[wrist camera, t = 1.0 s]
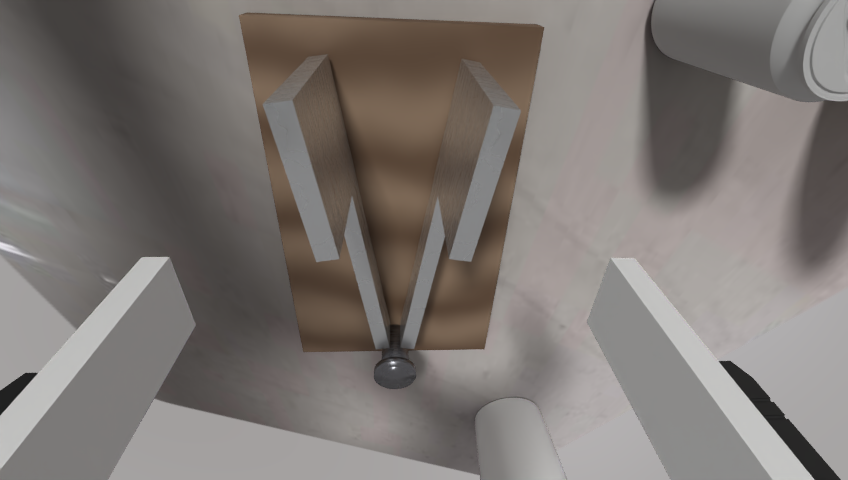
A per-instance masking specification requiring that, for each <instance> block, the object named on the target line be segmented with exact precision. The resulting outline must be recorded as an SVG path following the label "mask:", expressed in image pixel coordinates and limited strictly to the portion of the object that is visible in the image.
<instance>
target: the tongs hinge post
mask: <svg viewBox="0 0 848 480" xmlns="http://www.w3.org/2000/svg"><path fill="white" fill-rule="evenodd" d="M415 378H416V368H415V365H414V364H413V363H412V362H411V361H410V360H408V349H407V348H400V325H398V324H393V325H390V348H386V349H382V360H381V361H379V362H378V363H377V364H376V366H375V369H374V379H375V381H376V382H377V383H378V384H379V385H380V386H382V387H385V388H389V389H399V388H404V387H406V386H408V385H410V384H411V383H412V382H413V381H414V380H415Z"/></svg>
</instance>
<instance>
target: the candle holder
mask: <svg viewBox="0 0 848 480" xmlns="http://www.w3.org/2000/svg"><path fill="white" fill-rule="evenodd" d="M475 434H476V444H477V453H478V463H479V472H480V480H567V477H566V475H565V472H564V470H563V467H562V465H561V462H560V460H559V457H558V454H557V452H556V449H555V447H554V444H553V441H552V439H551V436H550V434H549V431H548V429H547V426H546V424H545V421H544V419H543V416H542V414H541V411H540V409H539V408H538V406H537V405H536V404H535V403H533V402H532V401H530V400H527V399H524V398H516V397H512V398H503V399H499V400H495V401H493V402H490V403H488V404H487V405H485V406H484V407H482V408H481V409H480V410H479V411H478V413H477V414H476V417H475Z"/></svg>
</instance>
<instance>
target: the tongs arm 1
mask: <svg viewBox="0 0 848 480" xmlns="http://www.w3.org/2000/svg"><path fill="white" fill-rule="evenodd" d="M263 107H264V110H265V113H266V116H267V119H268V122H269V125H270V128H271V131H272V133H273V136H274V139H275V142H276V145H277V148H278V151H279V154H280V157H281V160H282V163H283V166H284V169H285V172H286V175H287V178H288V180H289V183H290V186H291V189H292V192H293V195H294V198H295V201H296V204H297V207H298V210H299V213H300V216H301V219H302V222H303V225H304V227H305V230H306V233H307V236H308V239H309V242H310V245H311V248H312V251H313V254H314V257H315V260H316V262H321V261H328V260H336V259H340V254H341V249H342V244H343V239H344V236H345V240H346V243H347V247H348V251H349V254H350V258H351V261H352V265H353V269H354V272H355V276H356V279H357V283H358V287H359V290H360V294H361V298H362V301H363V305H364V308H365V312H366V316H367V319H368V323H369V326H370V330H371V334H372V337H373V341H374V344H375V348H376V350H378V349H386V348H390V319H389V315H388V311H387V307H386V302H385V298H384V294H383V289H382V285H381V281H380V277H379V272H378V268H377V264H376V259H375V255H374V251H373V247H372V242H371V238H370V234H369V229H368V225H367V221H366V217H365V212H364V208H363V204H362V199H361V195H360V191H359V187H358V182H357V178H356V173H355V168H354V164H353V160H352V155H351V151H350V147H349V143H348V138H347V134H346V130H345V125H344V121H343V117H342V112H341V108H340V104H339V100H338V95H337V91H336V87H335V82H334V78H333V74H332V70H331V65H330V61H329V57H328V54H325V55H317V56H310V57H308V58H307V59H306V60H305V61H304V62H303V63H302V64H301V65H300V66H299V67H298V68H297V69H296V70H295V71H294V72H293V73H292V74H291V75H290V76H289V77H288V78H287V79H286V80H285V81H284V82H283V83H282V84H281V86H280V87H279V88H278V89H277V90H276V91H275V92H274V93H273V94H272V95H271V96H270V97H269V98H268V99H267V100H266V101H265V102H264V103H263Z"/></svg>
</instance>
